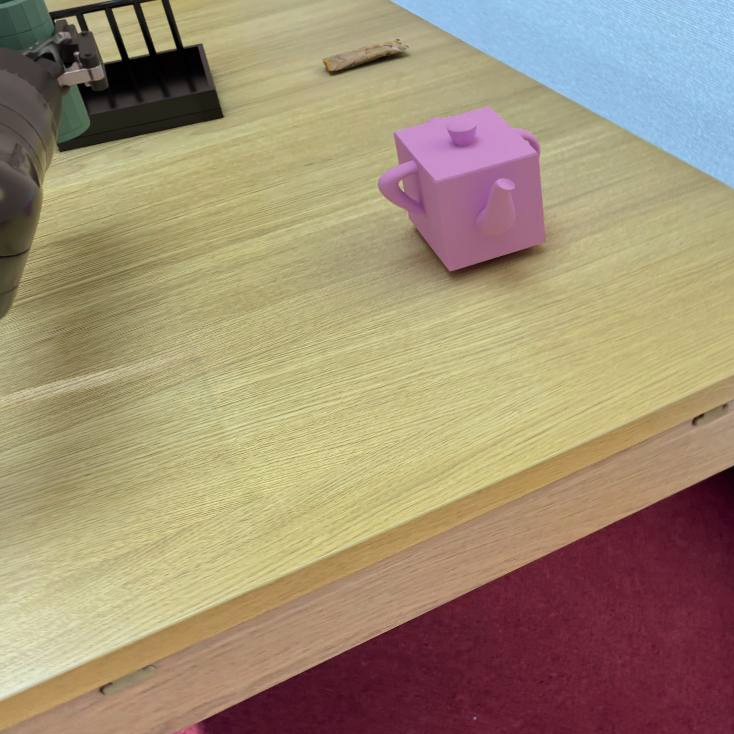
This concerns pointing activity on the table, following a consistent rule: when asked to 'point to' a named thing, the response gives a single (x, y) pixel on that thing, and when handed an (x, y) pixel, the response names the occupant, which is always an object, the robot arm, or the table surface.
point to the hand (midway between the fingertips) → (23, 39)
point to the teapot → (469, 186)
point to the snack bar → (363, 55)
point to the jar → (19, 29)
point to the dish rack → (144, 83)
